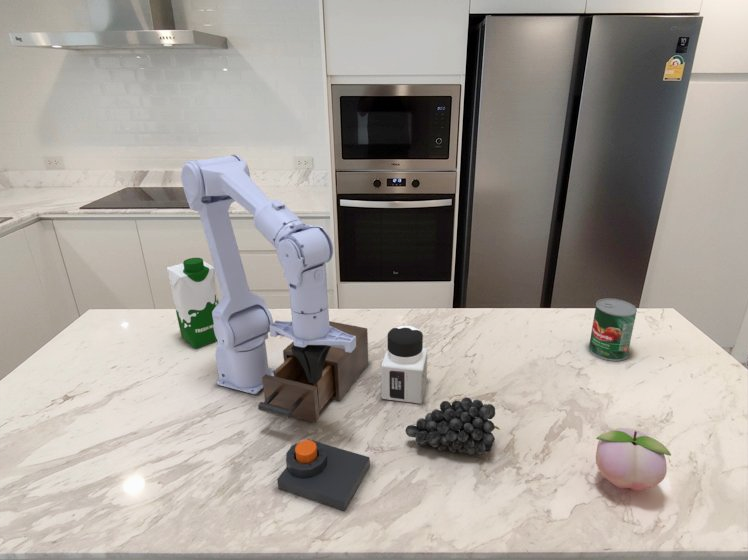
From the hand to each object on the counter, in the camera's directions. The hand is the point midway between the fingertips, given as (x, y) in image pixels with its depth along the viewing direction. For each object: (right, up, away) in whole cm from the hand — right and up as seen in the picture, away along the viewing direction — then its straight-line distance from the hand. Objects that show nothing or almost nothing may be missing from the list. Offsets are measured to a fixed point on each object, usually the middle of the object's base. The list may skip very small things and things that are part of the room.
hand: (315, 379), depth 79 cm
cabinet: (0, -3, +19) cm, 19 cm away
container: (+15, -5, +14) cm, 22 cm away
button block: (+2, -14, -6) cm, 15 cm away
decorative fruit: (+47, -14, -8) cm, 50 cm away
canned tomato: (+60, 0, +26) cm, 66 cm away
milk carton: (-31, +2, +34) cm, 46 cm away
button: (0, -10, -6) cm, 12 cm away
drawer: (-4, -6, +9) cm, 12 cm away
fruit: (+22, -11, +1) cm, 25 cm away
